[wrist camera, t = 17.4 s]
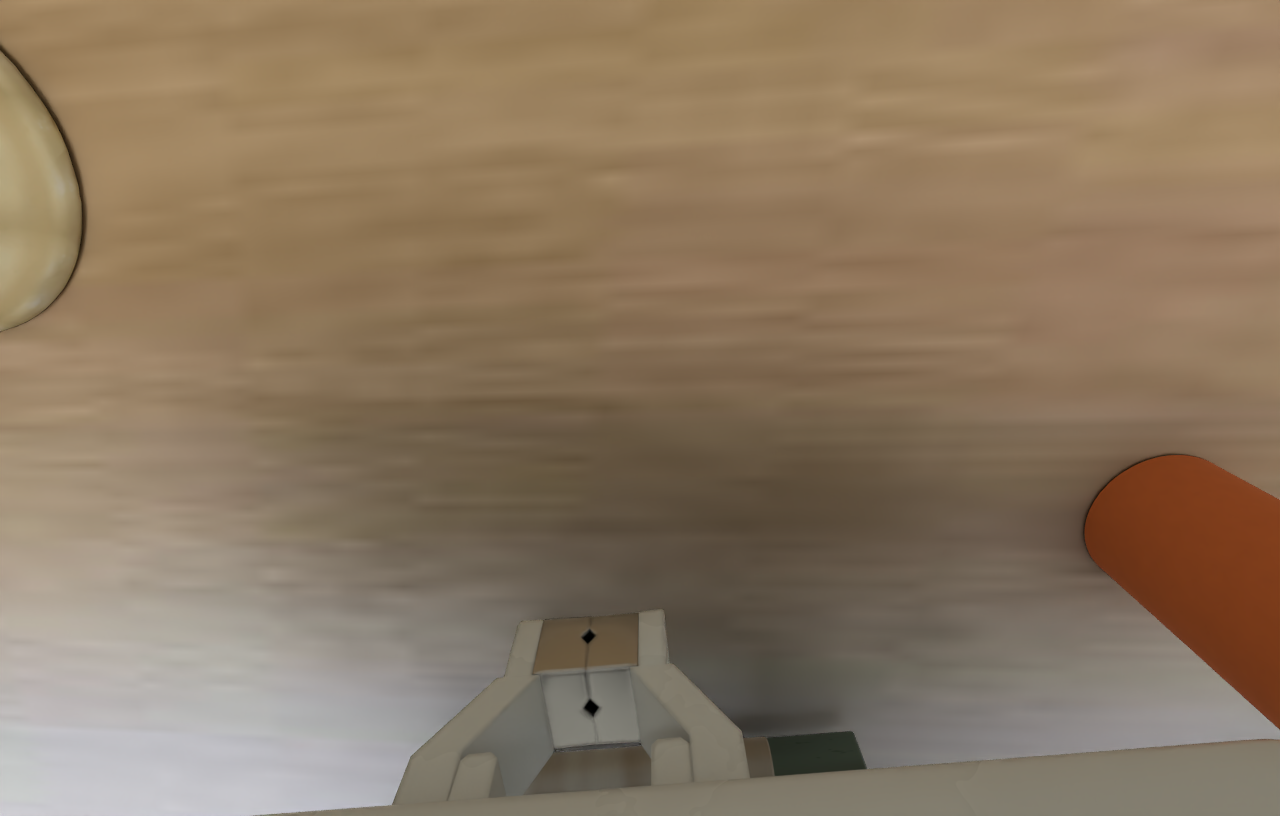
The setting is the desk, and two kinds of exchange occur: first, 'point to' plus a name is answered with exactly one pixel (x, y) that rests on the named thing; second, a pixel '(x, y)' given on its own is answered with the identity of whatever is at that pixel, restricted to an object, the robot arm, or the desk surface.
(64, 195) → the hand bell
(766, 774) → the drawer
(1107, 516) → the roller
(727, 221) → the desk surface
